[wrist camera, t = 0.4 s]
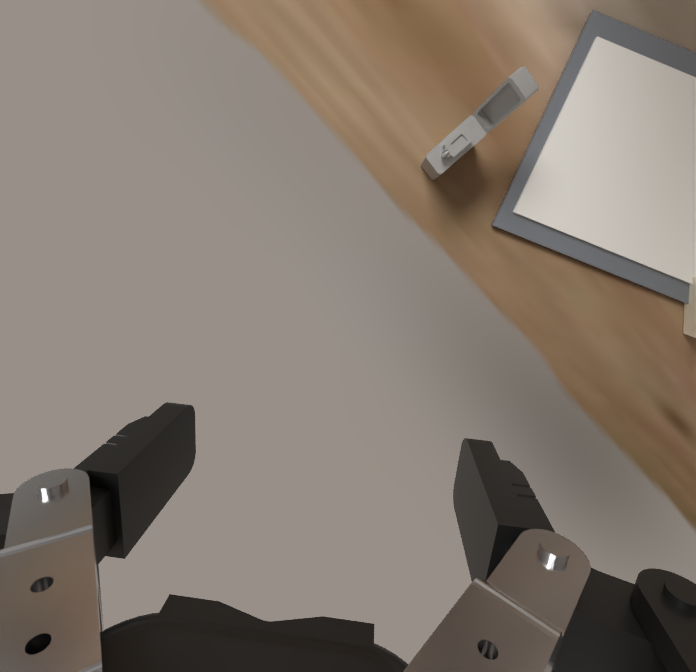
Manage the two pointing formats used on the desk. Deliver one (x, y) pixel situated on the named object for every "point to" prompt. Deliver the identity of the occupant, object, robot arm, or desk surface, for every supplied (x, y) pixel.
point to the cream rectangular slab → (690, 311)
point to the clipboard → (615, 160)
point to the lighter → (480, 122)
